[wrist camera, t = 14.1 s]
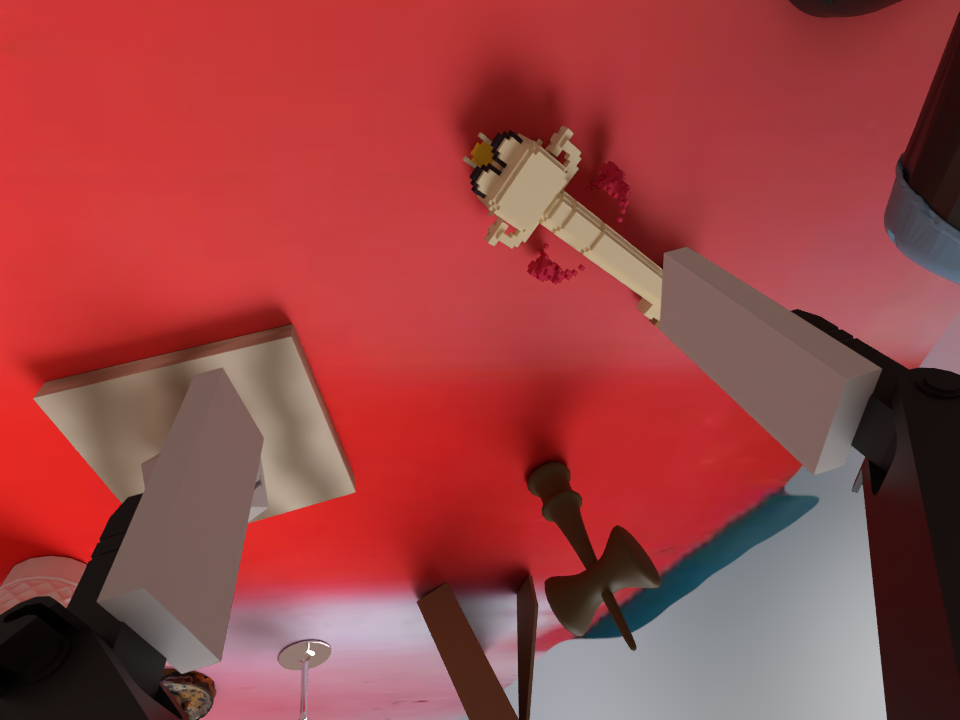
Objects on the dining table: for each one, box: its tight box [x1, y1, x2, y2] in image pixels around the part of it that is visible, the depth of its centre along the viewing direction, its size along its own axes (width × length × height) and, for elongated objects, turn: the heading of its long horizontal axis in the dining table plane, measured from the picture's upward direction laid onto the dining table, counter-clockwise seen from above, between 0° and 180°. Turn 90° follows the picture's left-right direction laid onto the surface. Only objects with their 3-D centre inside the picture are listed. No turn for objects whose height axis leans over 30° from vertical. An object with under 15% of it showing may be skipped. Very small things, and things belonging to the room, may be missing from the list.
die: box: [141, 453, 269, 522], centre depth 38 cm, size 8×9×10 cm
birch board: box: [33, 324, 356, 523], centre depth 42 cm, size 18×18×2 cm
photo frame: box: [417, 575, 538, 720], centre depth 60 cm, size 15×22×25 cm
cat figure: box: [462, 126, 663, 328], centre depth 38 cm, size 10×9×25 cm
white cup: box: [0, 556, 87, 615], centre depth 42 cm, size 8×8×10 cm
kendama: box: [527, 462, 661, 651], centre depth 49 cm, size 6×10×20 cm, turn 130°
